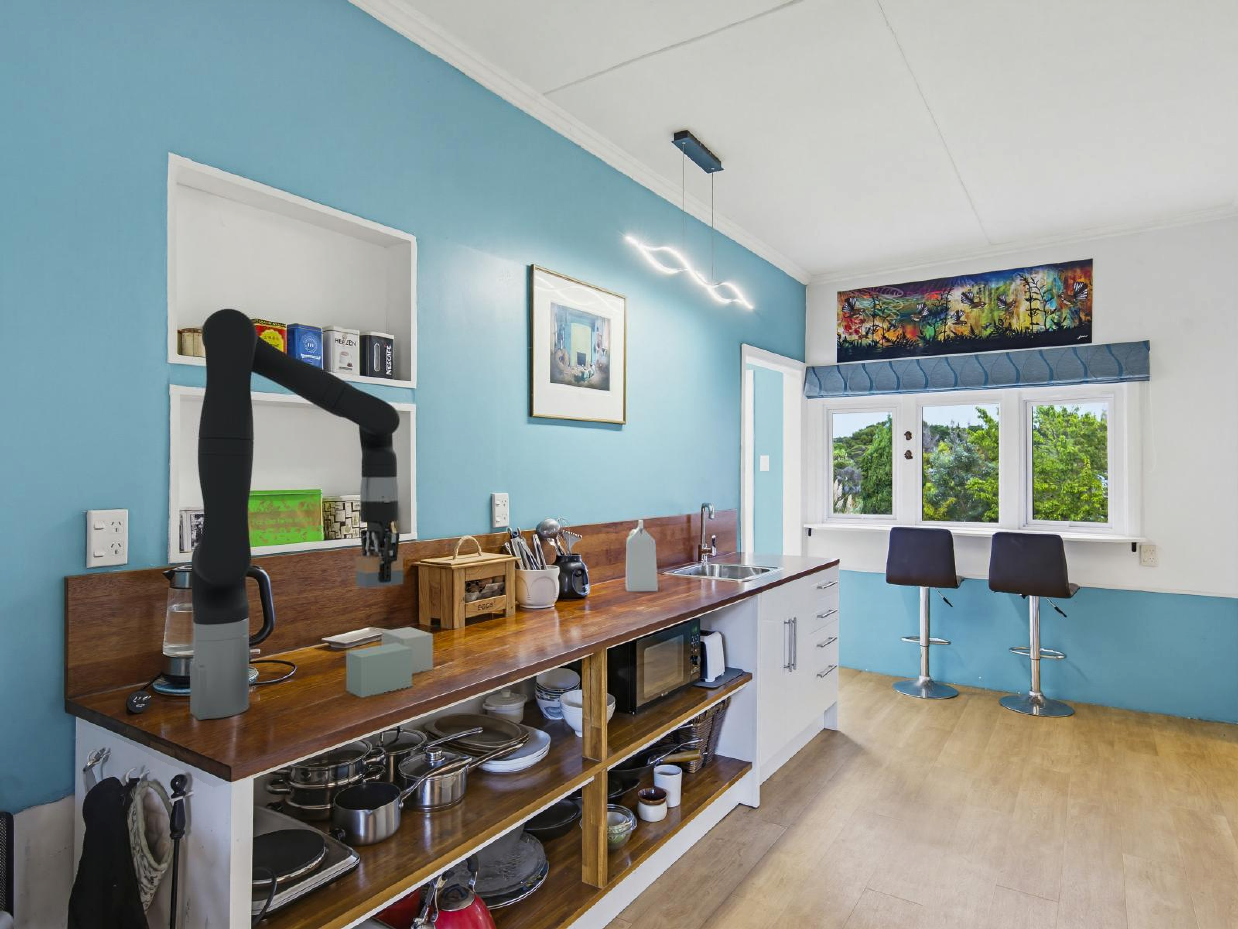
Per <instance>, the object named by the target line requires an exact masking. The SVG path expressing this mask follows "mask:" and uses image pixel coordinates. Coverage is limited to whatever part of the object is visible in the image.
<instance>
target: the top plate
mask: <svg viewBox="0 0 1238 929" xmlns="http://www.w3.org/2000/svg"><path fill="white" fill-rule="evenodd" d="M392 555H393V553H392ZM383 557H384V553H383ZM380 565H381V564H380V561H379V555H378V554H377V553H376V551H373V555H370V556H363V555H360V556H359V555H358V556H355V572H356V571H358V572H362V573H376V572H380ZM396 570H403V571H404V555H403V554H402V555H401V554H398V556H397V561H393V563H391V571H396Z"/></svg>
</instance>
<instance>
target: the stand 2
mask: <svg viewBox="0 0 1238 929" xmlns="http://www.w3.org/2000/svg"><path fill="white" fill-rule="evenodd" d="M392 643H398V644H401V645H404V646H407V647H410V648H412V675H413V674H418V673H422V672H421V671H423V672H427V671H431V670H434V635H433V633H430V632H426V631H423V630H421V629H417V628H414V627H411V626H406V627H402V628H395V629H388V630H381V645H386V644H392Z"/></svg>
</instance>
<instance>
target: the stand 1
mask: <svg viewBox="0 0 1238 929" xmlns="http://www.w3.org/2000/svg"><path fill="white" fill-rule="evenodd" d="M345 654H346V656H345V657H346V658H345V660H346V662H345V664H346V673H345V674H346V675H345V676H346V678H345V681H346V684H345V685H346V688H345V689H346V690H345V691H346V692H348V691H349V693H351V694H352V695H355V696H357V697H358V698H361V699H362V698H367V697H371V695H372V696H376V695H380V694H384V692H385V693H389V692H388V691H390V692H394V691H397V689H399V690H402V689H401V688H403V689H407V687H408V688H411V687H410V686H412V687H413V674H412V648H410V647H407V646H404V645H401V644H398V643H392V644H386V645H382V644H381V645H376V646H370V647H364V648H360V649H359V648H358V649H353V650H349V651H348V650H347V651H346V653H345ZM366 696H367V697H366Z"/></svg>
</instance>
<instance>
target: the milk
mask: <svg viewBox="0 0 1238 929" xmlns="http://www.w3.org/2000/svg"><path fill="white" fill-rule="evenodd" d="M637 522H638V523H637V524H638V525H637V527H636V528H633V529H631V531H630V532H629V533H628V536H627V537H626V542H625V544H626V547H625V549H626V550H625V551H626V552H625V581H624V582H625V584H624V585H625V586H624V587H625V589H626V592H658V589H659V588H658V568H657V567H658V566H657V548H656V540H655V539H654V538H653V536H652V535H650V534H649V533H648V531H646V530H645V528H644V520H643V519H638V521H637Z"/></svg>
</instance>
